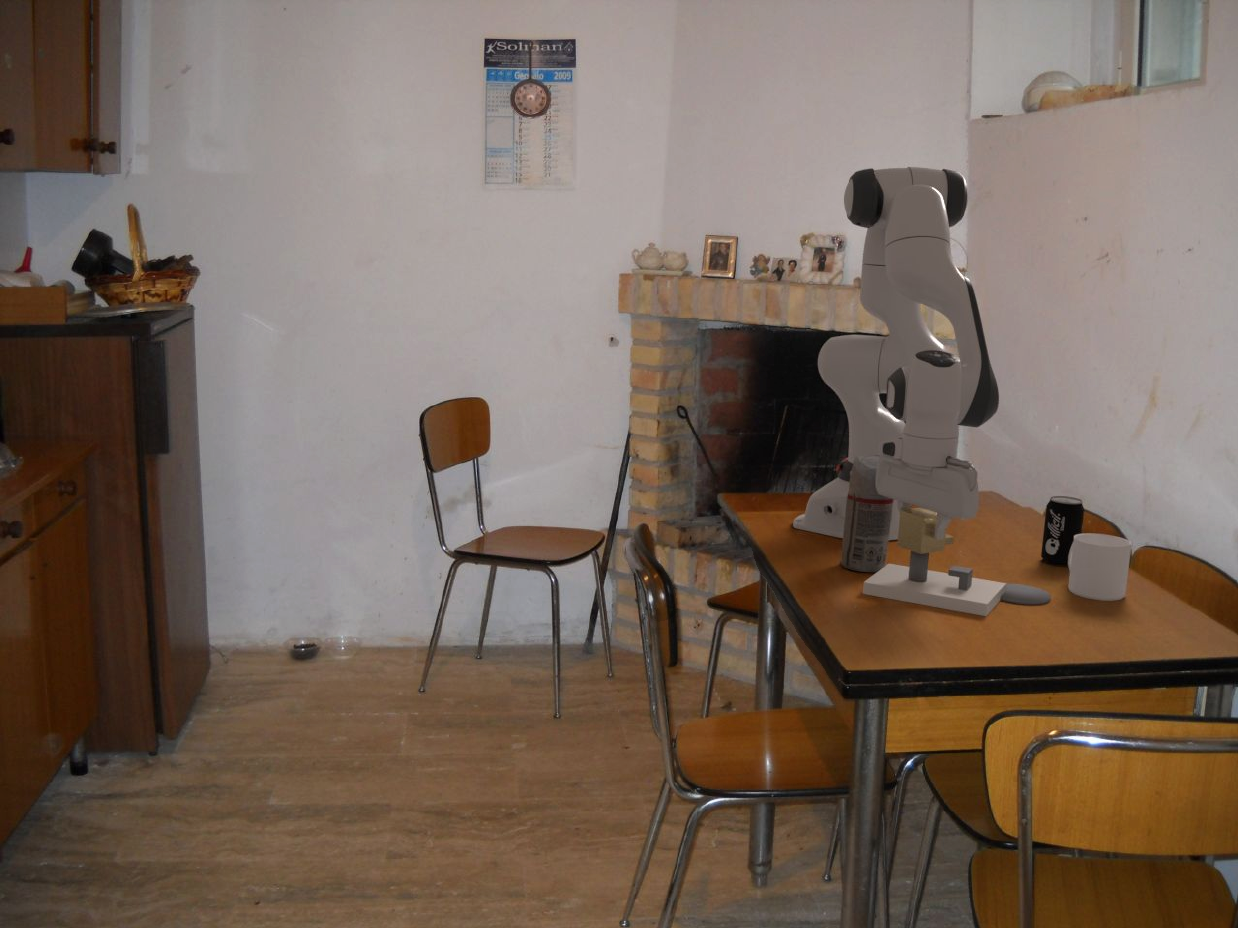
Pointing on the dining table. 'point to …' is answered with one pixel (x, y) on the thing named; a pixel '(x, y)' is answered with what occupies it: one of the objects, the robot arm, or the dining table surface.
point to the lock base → (935, 586)
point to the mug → (1099, 566)
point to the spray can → (865, 519)
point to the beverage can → (1061, 528)
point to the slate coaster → (1025, 595)
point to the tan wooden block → (920, 531)
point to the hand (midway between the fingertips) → (922, 533)
